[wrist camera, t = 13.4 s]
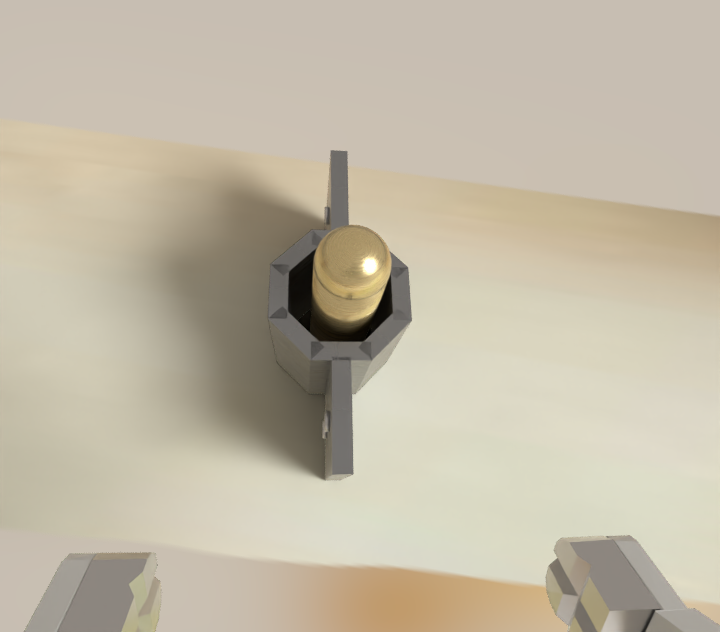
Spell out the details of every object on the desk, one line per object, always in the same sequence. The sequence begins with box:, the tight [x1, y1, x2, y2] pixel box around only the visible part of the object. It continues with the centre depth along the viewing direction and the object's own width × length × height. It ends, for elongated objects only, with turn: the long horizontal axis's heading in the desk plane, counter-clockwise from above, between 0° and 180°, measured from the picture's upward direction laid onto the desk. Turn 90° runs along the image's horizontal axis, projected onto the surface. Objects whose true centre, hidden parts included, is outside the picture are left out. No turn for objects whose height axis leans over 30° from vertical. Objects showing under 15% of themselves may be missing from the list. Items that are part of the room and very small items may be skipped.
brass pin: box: [310, 225, 391, 342], centre depth 22 cm, size 3×3×11 cm
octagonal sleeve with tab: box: [268, 151, 412, 480], centre depth 24 cm, size 6×15×7 cm, turn 1°
